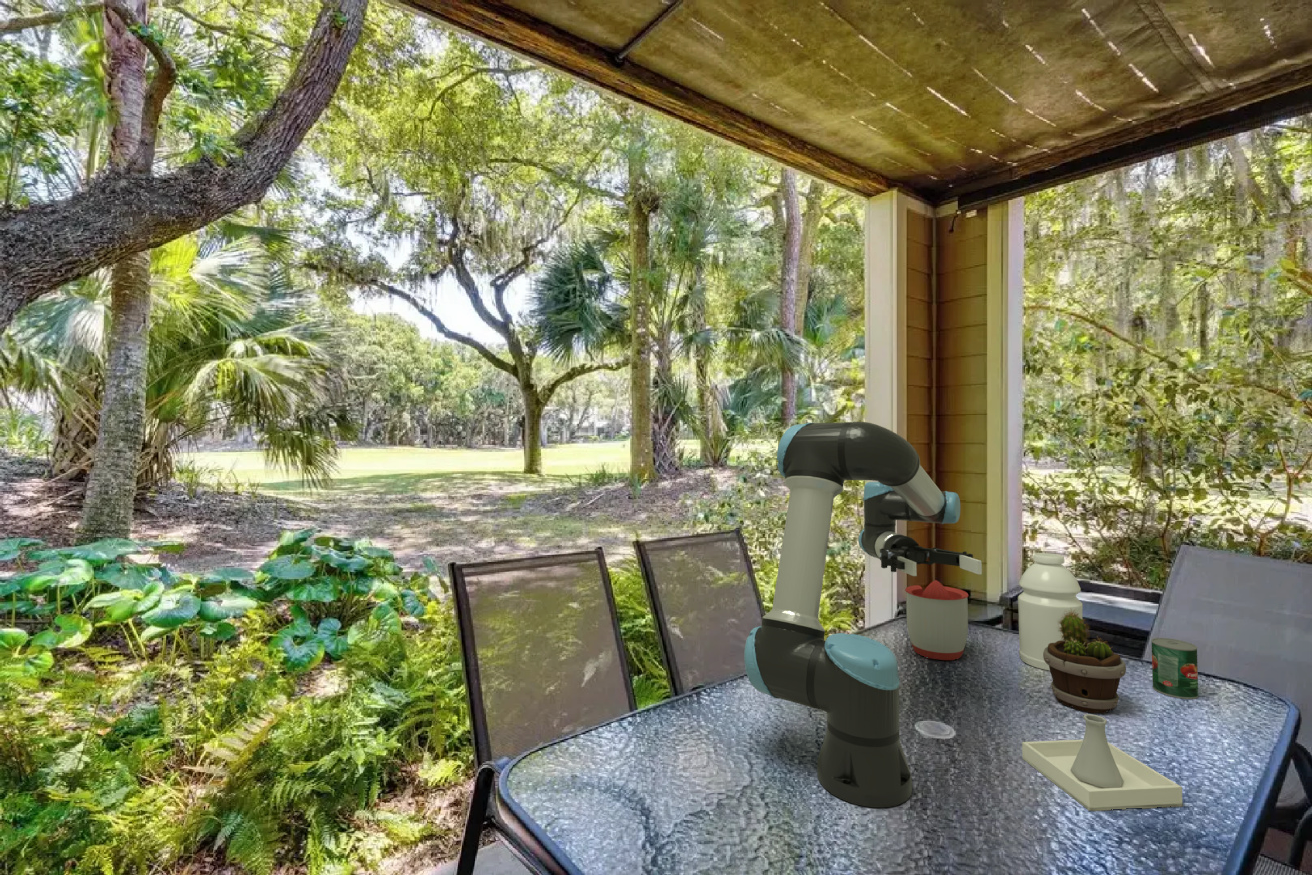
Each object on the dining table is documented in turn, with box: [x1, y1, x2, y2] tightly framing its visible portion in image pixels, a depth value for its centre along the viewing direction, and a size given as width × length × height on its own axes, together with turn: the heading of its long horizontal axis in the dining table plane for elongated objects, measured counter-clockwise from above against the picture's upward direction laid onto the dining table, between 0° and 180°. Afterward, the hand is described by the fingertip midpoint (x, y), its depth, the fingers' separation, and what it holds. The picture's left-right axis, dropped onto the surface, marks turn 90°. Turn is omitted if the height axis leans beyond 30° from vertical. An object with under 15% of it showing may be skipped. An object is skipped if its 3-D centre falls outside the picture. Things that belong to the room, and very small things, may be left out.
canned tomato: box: [1150, 637, 1199, 700], centre depth 133 cm, size 8×8×11 cm
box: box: [1021, 739, 1183, 812], centre depth 98 cm, size 15×15×3 cm
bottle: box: [1017, 552, 1084, 671], centre depth 151 cm, size 14×14×28 cm
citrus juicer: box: [904, 579, 969, 661], centre depth 160 cm, size 16×17×20 cm
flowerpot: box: [1043, 607, 1127, 714], centre depth 128 cm, size 14×15×20 cm
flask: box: [1070, 713, 1124, 788], centre depth 98 cm, size 7×7×10 cm
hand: (947, 568), depth 118 cm, fingers open, 13 cm apart
